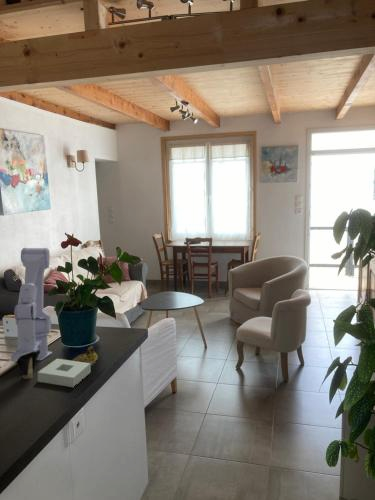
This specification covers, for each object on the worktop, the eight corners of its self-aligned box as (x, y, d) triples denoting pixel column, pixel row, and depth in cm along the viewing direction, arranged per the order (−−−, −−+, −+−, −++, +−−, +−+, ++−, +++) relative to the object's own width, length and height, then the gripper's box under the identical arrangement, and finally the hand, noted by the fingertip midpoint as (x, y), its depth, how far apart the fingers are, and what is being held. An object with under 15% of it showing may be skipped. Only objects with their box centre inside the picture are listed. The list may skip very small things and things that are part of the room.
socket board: (37, 381, 140) (37, 372, 139) (57, 367, 151) (57, 358, 151) (73, 387, 136) (73, 377, 136) (90, 372, 148) (90, 363, 147)
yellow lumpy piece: (88, 373, 150) (103, 357, 164) (89, 362, 149) (104, 346, 163) (65, 369, 151) (81, 353, 165) (66, 357, 150) (82, 342, 165)
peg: (21, 378, 142) (20, 359, 141) (26, 374, 145) (26, 356, 144) (29, 379, 141) (28, 360, 140) (34, 375, 144) (34, 357, 143)
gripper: (23, 344, 133) (24, 383, 135) (48, 330, 147) (49, 365, 149) (4, 342, 135) (6, 380, 137) (31, 328, 149) (32, 363, 151)
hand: (27, 372), depth 143 cm, fingers closed on peg, 3 cm apart
